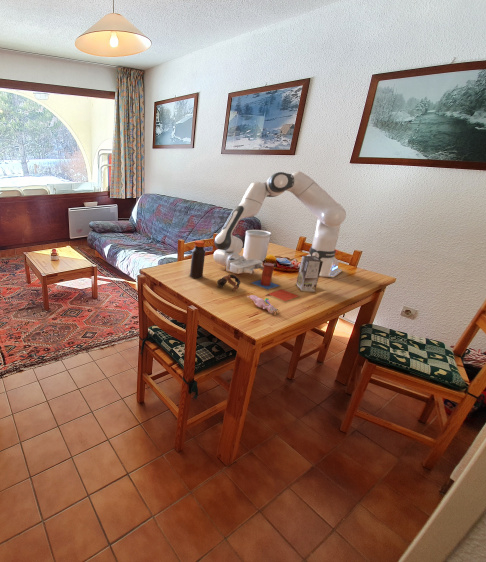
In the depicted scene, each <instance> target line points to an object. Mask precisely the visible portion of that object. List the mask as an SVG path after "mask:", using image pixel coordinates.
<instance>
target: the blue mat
mask: <svg viewBox="0 0 486 562" xmlns="http://www.w3.org/2000/svg"><path fill="white" fill-rule="evenodd" d="M260 282H261V279H259V280H256V281H251V284H253V285H255V286H257V287H260V288H263V289H265V290H270V289H275V288H277V287H280V286H281V285H279V284H277V283H274V282H272V281H271V284H270V286H264V285H261V284H260Z"/></svg>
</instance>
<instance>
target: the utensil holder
mask: <svg viewBox="0 0 486 562" xmlns="http://www.w3.org/2000/svg"><path fill="white" fill-rule="evenodd" d="M271 236H272V232H270V231H268V230H261V229H248V230H245V237H244V243H243V252H242V253H243V254H242V256H243V257H244V258H245V260H248V259H256V260H260V261H262V262H264V259H265V258H267V256H268V250H269V244H270V239H271ZM265 260H266V259H265Z"/></svg>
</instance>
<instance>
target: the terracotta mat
mask: <svg viewBox="0 0 486 562" xmlns="http://www.w3.org/2000/svg"><path fill="white" fill-rule="evenodd" d="M268 295H269V296H271V297H274V298H277V299H279V300H281V301H284V302H287V301H290V300H292V299H295V298H297V297H299V295H297V294H296V293H293V292H290V291H287V290H285V289H279V290H276V291H275V290H274V291H272V292H269V293H268Z"/></svg>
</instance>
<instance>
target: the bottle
mask: <svg viewBox="0 0 486 562" xmlns="http://www.w3.org/2000/svg"><path fill="white" fill-rule="evenodd" d="M205 256H206V250H205V241H203V240H195V241H194V248H193V249H192V250H191V262H190V269H189V270H190V271H189V277H190V278H192V279H202V278H203V275H204V265H205V258H206V257H205Z"/></svg>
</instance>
